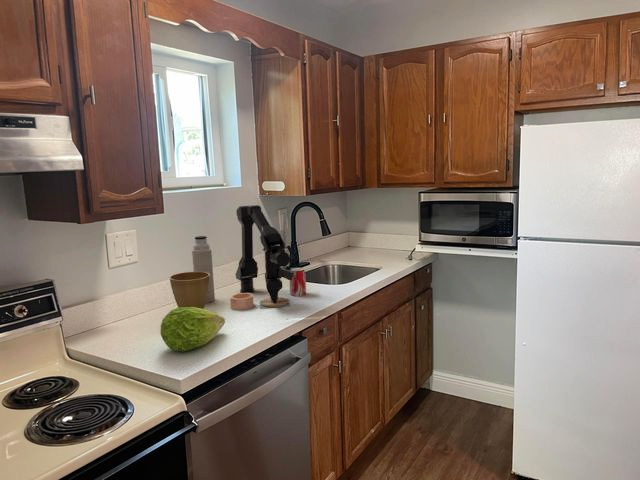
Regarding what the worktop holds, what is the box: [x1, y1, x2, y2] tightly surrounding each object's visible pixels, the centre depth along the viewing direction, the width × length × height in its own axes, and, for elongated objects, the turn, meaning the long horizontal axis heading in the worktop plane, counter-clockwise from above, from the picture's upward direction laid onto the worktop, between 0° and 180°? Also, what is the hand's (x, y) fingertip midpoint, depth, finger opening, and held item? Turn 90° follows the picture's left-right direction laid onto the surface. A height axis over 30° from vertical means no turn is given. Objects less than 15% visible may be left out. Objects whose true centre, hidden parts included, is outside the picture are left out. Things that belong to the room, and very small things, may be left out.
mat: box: [259, 299, 291, 310], centre depth 194 cm, size 12×12×1 cm
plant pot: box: [169, 271, 210, 309], centre depth 183 cm, size 15×15×16 cm
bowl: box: [229, 292, 255, 311], centre depth 192 cm, size 9×9×5 cm
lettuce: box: [159, 307, 226, 352], centre depth 155 cm, size 15×24×14 cm, turn 148°
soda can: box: [289, 267, 307, 297], centre depth 207 cm, size 7×7×12 cm
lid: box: [260, 295, 289, 309], centre depth 194 cm, size 11×11×4 cm
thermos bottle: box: [191, 235, 216, 304], centre depth 204 cm, size 8×8×28 cm
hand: (274, 300), depth 194 cm, fingers open, 9 cm apart
